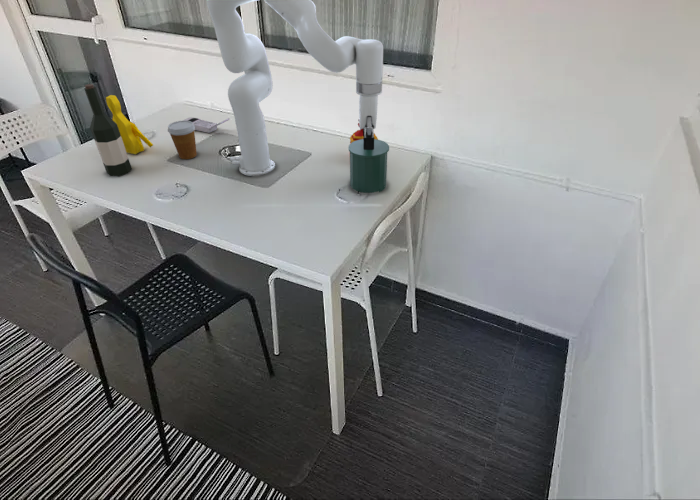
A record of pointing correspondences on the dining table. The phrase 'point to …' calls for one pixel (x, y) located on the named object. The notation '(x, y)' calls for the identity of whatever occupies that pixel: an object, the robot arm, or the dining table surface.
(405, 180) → the dining table surface
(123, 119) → the figure statuette
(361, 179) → the green tube
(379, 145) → the green disc with handle
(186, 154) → the disposable coffee cup
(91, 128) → the wine bottle
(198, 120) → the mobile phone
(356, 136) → the potion bottle
